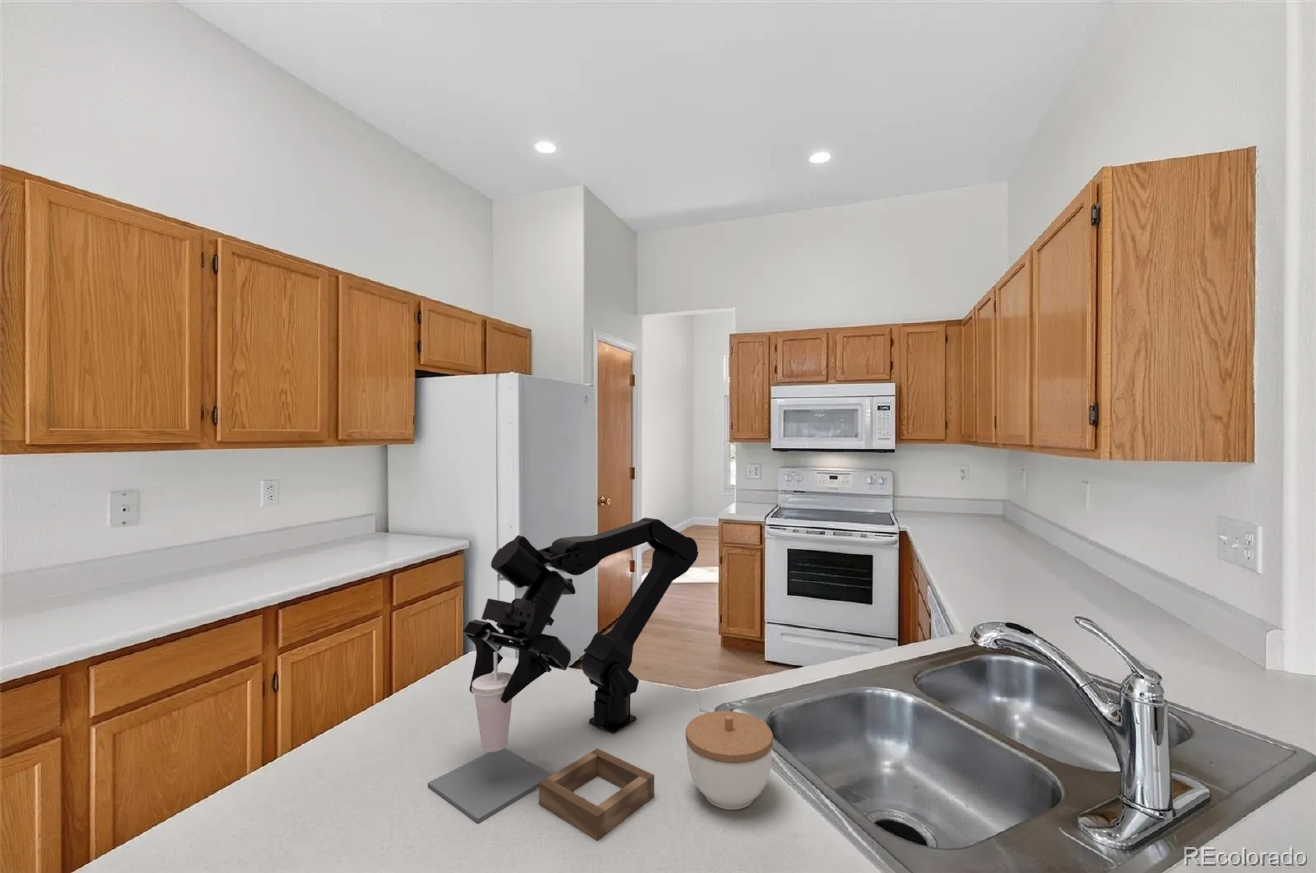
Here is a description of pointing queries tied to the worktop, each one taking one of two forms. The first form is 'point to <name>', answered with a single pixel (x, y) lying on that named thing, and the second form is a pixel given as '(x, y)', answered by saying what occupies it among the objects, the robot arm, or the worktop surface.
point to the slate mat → (489, 783)
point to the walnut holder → (608, 813)
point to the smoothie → (492, 708)
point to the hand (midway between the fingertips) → (487, 696)
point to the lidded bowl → (729, 757)
